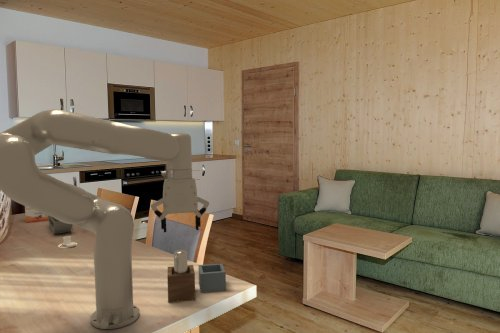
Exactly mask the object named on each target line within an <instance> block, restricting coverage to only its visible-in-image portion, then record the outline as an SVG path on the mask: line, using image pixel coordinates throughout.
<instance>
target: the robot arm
mask: <svg viewBox="0 0 500 333" xmlns="http://www.w3.org/2000/svg"><path fill="white" fill-rule="evenodd" d="M52 145H55V146H61V147H64V148H65V147H66V148H73V149H79V150H84V151H91V152H96V153H102V154H109V155H125V156H133V157H142V158H145V159H148V160H154V161H163V162H165V163H166V164H165V165H166V168H165V170H164V171H161V177H162V176H163V177H165V179H164V182H163V186H162V188H163V190H162V198H160V199H158V200H157V201H155V202H153V203H151V204H150V208H151V209H152V211H153V212H154V214H155V215H156V217H158V218H159V219H160V223H161V224H160V225H161V226H160V227H161V230H163V233H167V216H168V215H170V214H187V213H188V214H189V213H190V214H191V213H193V214H195V217H194V218H195V221H194V222H195V230H196V231H199V228H200V227H201V217H202V216H203V215H204V214H205V212H206V211H207V209H208V207H209V205H210V202H209V201H208V200H206V199H204V198H202V197H200V196H198V190H197V183H196V179H195V178H193V164H192V163H193V162H192V160H193V159H192V158H193V157H192V138H191V135H190V134H189V133H184V132H182V133H177V132H175V133H167V132H163V131H159V130H154V129H151V128H146V127H140V126H136V125H129V124H127V123H122V122H117V121H113V120H108V119H102V118H99V117H94V116H90V115H86V114H83V113H82V114H81V113H78V112H77V113H76V112H73V111H69V110H62V109H47V110H41V111H40V112H38V113H36V114H33V115H32V116H30V117H28V118H27V119H25V120H23V121H21V122H18V123H17V124H16V125H14V126H11V127H9V128H7V129H6V130H3V131H2V132H0V191H1V192H2V193H3V194H4V195H5V196H6V197H8V198H9V199H10V200H11V201H14V202H15V203H17V204H20V205H22V206H24V207H25V206H27V207H29V208H31V209H34V210H36V211H38V212H41V213H44V214H46V215H49V216H51V217H54V218H55V219H57V220H59V221H61V222H64V223H67V224H72V226H73V225H74V226H77V227H79V228H82V229H85V230H87V231H90V232H91V233H93V234H95V244H94V249H93V263H94V264H93V266H94V268H93V269H94V285H95V286H94V287H95V288H94V289H95V311H94V312H93V313H92V314H91V315H90V319H89V320H90V325H92V326H93V327H94V328H97V329H101V330H114V329H120V328H122V327H126V326H128V325H130V324H132V323H134V322H135V321H136V320H138V319H139V317H140V309H139V307H138V306H137V305H135V304H134V291H133V290H134V288H133V261H132V260H133V259H132V257H133V255H132V252H133V251H132V250H133V249H132V247H133V244H132V243H133V234H134V229H135V228H134V227H135V224H134V222H135V220H134V218H133V214H132V213H131V211H129V209H128V208H126V207H125V206H124V205H122V204H120V203H116V202H113V201H110V200H108V199H105V198H103V197H101V196H97V195H96V194H93V193H91V192H88V191H86V190H85V189H83V188H82V187H80V186H78V185H74V184H71V183H66V182H64V181H62V180H60V179H58V178H56V177H53V176H52V175H50V174H47V173H45V172H44V171H42V170H41V169H40V168H39V167H38V165H37V162H36V157H35V156H36V155H38V154H39V153H41V152H42V151H44V150H45V149H48V148H49V147H51V146H52ZM198 203H200V204H202V205H203V206H202V207H201V208H200V209H198V207H199V206H198ZM161 205H162V209H163V211H160V210H159V209H158V206H159V207H160V206H161Z"/></svg>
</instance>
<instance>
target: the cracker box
mask: <svg viewBox="0 0 500 333" xmlns="http://www.w3.org/2000/svg"><path fill="white" fill-rule="evenodd" d="M24 213H25V214H24V215H25V223H34V222H35V223H36V222H46V221H49V220H48V215H46V214H44V213H41V212H38V211H36V210H34V209H31V208H29V207H27V206H24Z"/></svg>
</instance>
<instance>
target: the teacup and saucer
mask: <svg viewBox="0 0 500 333" xmlns="http://www.w3.org/2000/svg"><path fill="white" fill-rule="evenodd" d="M62 241H63V243H60V244H58V245H57V248H60V249H68V248H73V247H76V246H77V245H78V242H74V241H72V236H70V235H68V236H63V238H62ZM62 244H63V245H64V246H63V245H62ZM60 246H61V247H60Z"/></svg>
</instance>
